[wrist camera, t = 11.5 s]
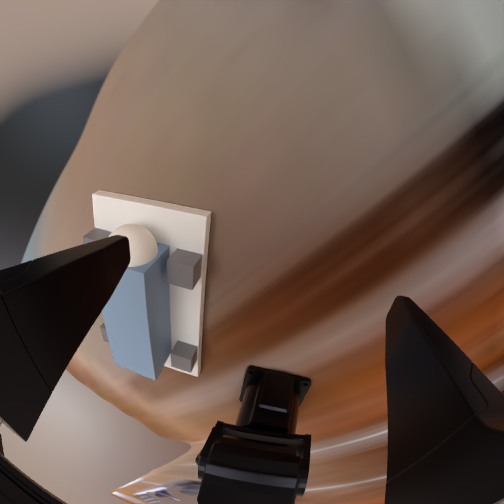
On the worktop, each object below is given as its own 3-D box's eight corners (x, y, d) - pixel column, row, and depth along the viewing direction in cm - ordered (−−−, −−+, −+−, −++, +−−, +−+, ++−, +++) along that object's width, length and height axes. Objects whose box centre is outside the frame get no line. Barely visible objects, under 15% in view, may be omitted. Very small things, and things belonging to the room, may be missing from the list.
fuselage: (171, 351, 28) (155, 380, 24) (133, 337, 28) (115, 364, 25) (169, 221, 21) (142, 246, 17) (120, 210, 21) (88, 232, 18)
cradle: (200, 369, 30) (192, 389, 28) (120, 341, 31) (108, 358, 29) (211, 211, 21) (197, 227, 19) (99, 190, 22) (78, 201, 20)
